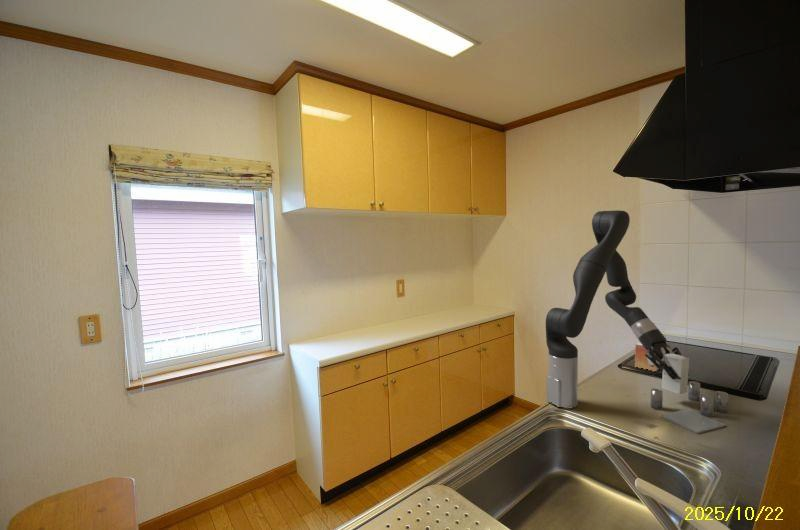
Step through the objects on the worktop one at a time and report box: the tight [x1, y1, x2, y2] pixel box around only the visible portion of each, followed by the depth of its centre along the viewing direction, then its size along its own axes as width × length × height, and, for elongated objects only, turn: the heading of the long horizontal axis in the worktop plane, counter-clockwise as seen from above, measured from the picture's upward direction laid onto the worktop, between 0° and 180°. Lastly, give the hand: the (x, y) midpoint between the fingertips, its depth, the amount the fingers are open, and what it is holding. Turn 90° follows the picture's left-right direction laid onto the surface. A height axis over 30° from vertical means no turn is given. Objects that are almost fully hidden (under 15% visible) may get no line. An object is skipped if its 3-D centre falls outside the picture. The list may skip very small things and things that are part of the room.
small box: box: [634, 341, 659, 372], centre depth 160 cm, size 8×6×10 cm
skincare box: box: [661, 353, 690, 395], centre depth 125 cm, size 6×4×12 cm
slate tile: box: [659, 408, 727, 434], centre depth 113 cm, size 12×11×1 cm
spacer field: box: [650, 380, 730, 418], centre depth 121 cm, size 21×12×6 cm, turn 108°
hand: (681, 377), depth 123 cm, fingers closed on skincare box, 4 cm apart
